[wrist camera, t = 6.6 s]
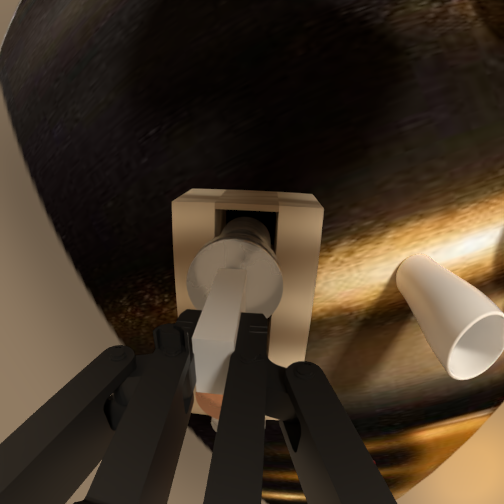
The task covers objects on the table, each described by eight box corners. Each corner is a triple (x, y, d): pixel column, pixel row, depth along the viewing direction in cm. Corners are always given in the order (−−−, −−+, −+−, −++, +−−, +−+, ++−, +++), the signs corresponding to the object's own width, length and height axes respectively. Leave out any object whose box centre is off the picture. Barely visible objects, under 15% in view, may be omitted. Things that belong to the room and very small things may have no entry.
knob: (212, 206, 25) (184, 238, 17) (281, 209, 24) (286, 243, 16) (212, 270, 26) (188, 324, 19) (277, 273, 26) (279, 330, 18)
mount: (192, 188, 31) (171, 201, 25) (312, 194, 31) (323, 208, 24) (199, 374, 39) (188, 412, 33) (291, 381, 39) (293, 420, 32)
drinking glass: (389, 305, 34) (440, 391, 20) (386, 252, 32) (451, 325, 18) (438, 292, 34) (502, 366, 19) (438, 240, 31) (517, 300, 17)
